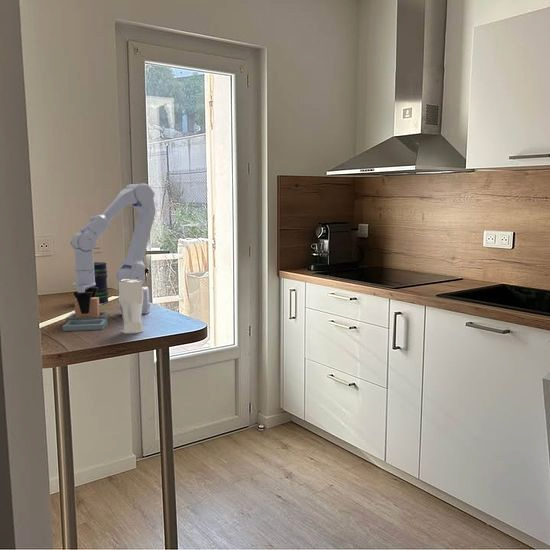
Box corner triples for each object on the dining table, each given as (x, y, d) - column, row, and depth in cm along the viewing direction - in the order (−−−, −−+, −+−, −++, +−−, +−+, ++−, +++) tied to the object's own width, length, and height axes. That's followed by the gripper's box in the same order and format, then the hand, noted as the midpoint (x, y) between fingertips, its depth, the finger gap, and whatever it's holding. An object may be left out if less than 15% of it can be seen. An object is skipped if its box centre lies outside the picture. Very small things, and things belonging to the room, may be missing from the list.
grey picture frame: (107, 323, 174) (107, 319, 173) (102, 329, 166) (102, 324, 166) (69, 325, 172) (69, 320, 172) (62, 331, 164) (62, 326, 164)
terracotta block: (100, 318, 183) (98, 297, 182) (97, 320, 180) (96, 298, 179) (78, 318, 182) (76, 297, 182) (75, 321, 179) (74, 299, 178)
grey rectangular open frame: (108, 316, 186) (108, 311, 186) (103, 321, 178) (103, 316, 178) (72, 317, 184) (72, 313, 184) (66, 322, 177) (66, 317, 176)
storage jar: (101, 304, 208) (99, 265, 206) (76, 304, 210) (74, 265, 208) (113, 300, 218) (111, 262, 216) (89, 300, 219) (87, 262, 218)
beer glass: (135, 327, 167) (132, 278, 165) (149, 330, 163) (147, 280, 161) (115, 332, 162) (112, 281, 160) (129, 335, 158) (127, 282, 156)
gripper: (77, 267, 186) (79, 307, 188) (66, 272, 172) (69, 316, 173) (99, 267, 187) (101, 307, 188) (90, 272, 172) (92, 315, 174)
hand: (87, 311), depth 181 cm, fingers open, 6 cm apart
